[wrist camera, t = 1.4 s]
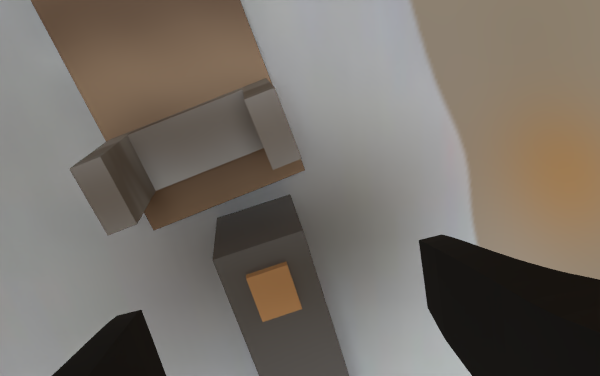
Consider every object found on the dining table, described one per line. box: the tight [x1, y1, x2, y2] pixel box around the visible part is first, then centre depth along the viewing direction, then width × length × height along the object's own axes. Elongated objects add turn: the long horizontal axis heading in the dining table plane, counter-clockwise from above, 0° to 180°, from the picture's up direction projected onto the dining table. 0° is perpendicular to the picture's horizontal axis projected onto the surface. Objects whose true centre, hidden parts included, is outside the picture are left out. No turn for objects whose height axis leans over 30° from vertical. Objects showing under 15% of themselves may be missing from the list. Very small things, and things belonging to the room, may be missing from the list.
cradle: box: [31, 0, 305, 235], centre depth 15 cm, size 16×7×6 cm, turn 21°
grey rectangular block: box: [213, 195, 349, 376], centre depth 20 cm, size 12×4×5 cm, turn 17°
